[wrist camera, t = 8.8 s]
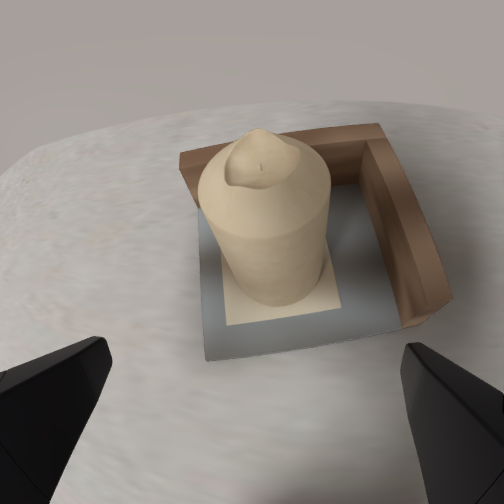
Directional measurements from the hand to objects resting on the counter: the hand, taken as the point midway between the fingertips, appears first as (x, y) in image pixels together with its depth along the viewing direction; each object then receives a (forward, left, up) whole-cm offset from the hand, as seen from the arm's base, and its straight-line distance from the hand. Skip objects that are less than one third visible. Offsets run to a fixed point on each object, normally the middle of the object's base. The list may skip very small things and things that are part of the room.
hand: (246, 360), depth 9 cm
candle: (+7, -1, -10) cm, 12 cm away
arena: (+8, -3, -10) cm, 13 cm away
